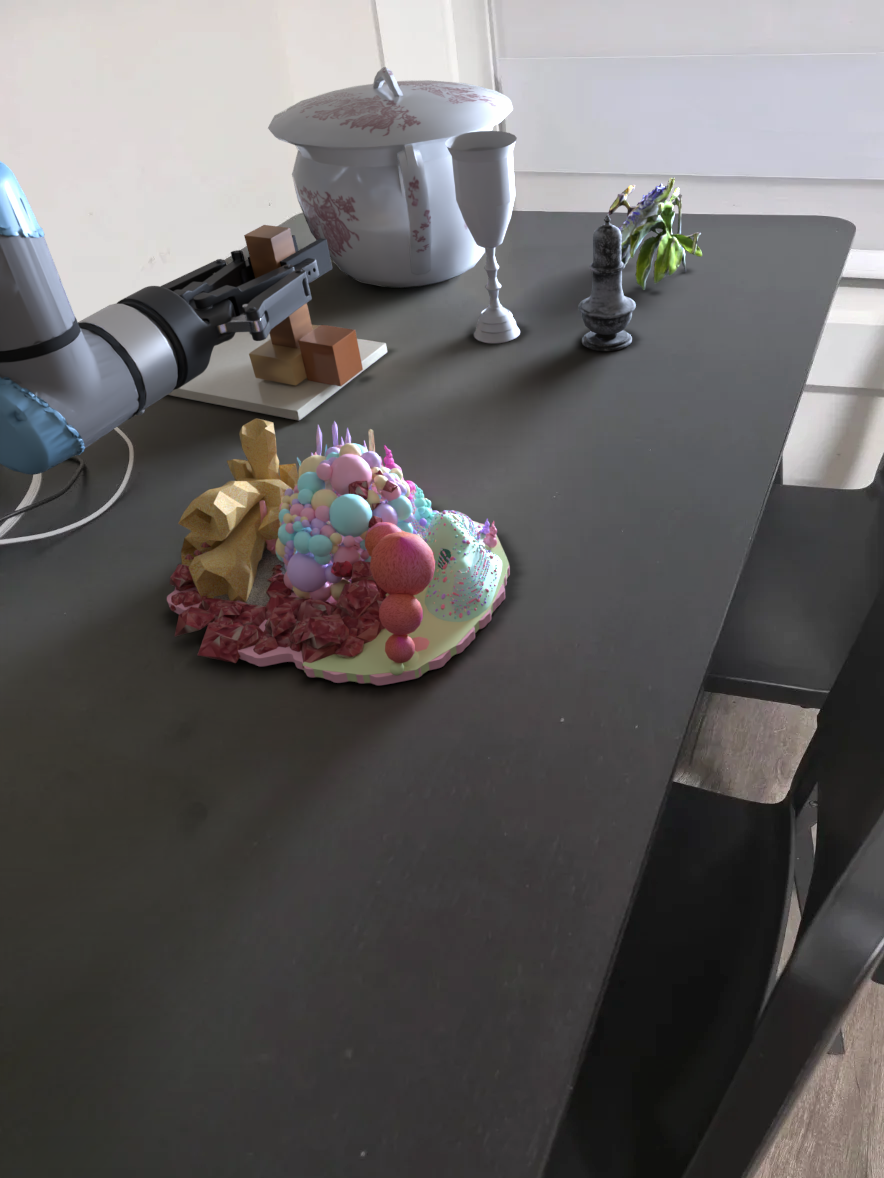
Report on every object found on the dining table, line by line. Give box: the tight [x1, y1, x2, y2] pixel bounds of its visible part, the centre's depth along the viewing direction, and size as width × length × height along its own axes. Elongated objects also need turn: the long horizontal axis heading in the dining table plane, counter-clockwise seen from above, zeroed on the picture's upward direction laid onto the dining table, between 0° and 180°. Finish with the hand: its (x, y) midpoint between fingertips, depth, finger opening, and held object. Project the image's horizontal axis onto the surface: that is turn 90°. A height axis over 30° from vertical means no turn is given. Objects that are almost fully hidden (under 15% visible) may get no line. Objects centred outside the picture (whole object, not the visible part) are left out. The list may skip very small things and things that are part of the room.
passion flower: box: [607, 177, 703, 291], centre depth 105 cm, size 11×11×12 cm
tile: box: [167, 332, 388, 421], centre depth 93 cm, size 22×16×1 cm
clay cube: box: [298, 324, 363, 387], centre depth 88 cm, size 4×4×4 cm
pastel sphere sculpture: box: [166, 418, 511, 686], centre depth 64 cm, size 25×24×9 cm
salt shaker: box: [577, 214, 637, 352], centre depth 90 cm, size 6×6×12 cm
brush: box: [243, 224, 320, 385], centre depth 86 cm, size 5×8×12 cm, turn 155°
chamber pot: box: [267, 66, 514, 289], centre depth 105 cm, size 28×28×21 cm
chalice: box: [445, 130, 521, 344], centre depth 91 cm, size 7×7×18 cm
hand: (310, 251), depth 88 cm, fingers closed on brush, 3 cm apart
